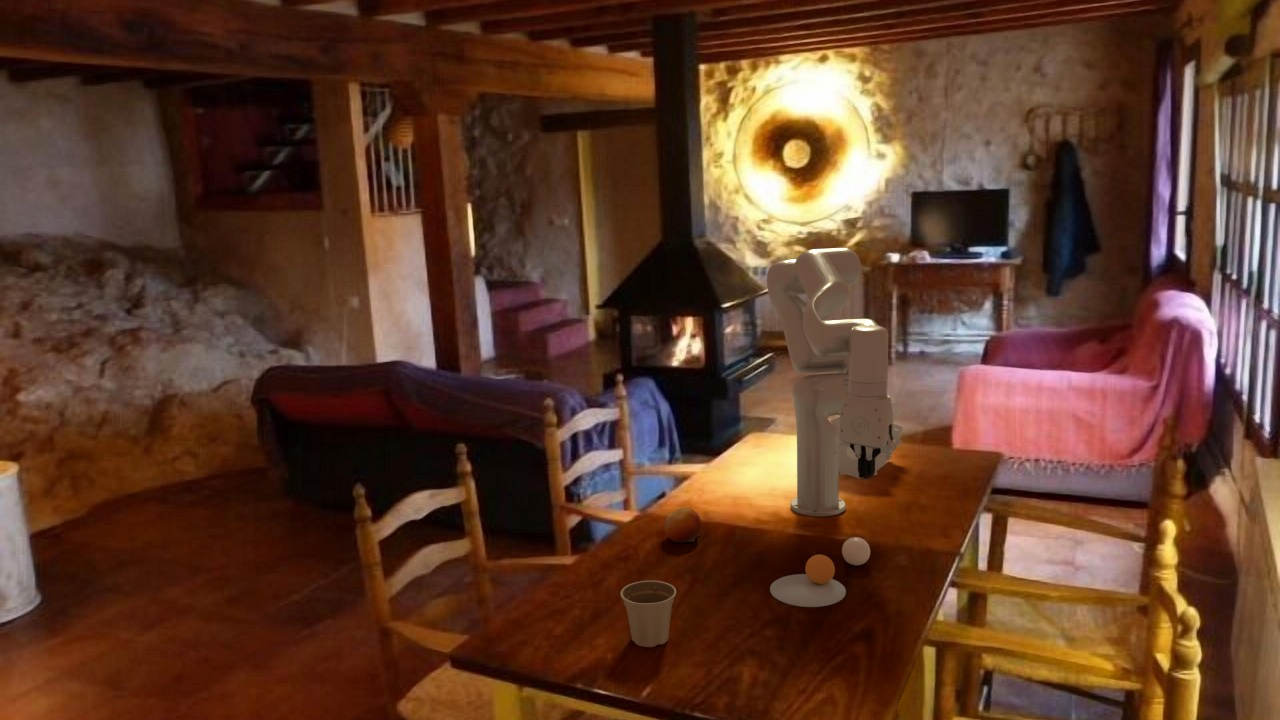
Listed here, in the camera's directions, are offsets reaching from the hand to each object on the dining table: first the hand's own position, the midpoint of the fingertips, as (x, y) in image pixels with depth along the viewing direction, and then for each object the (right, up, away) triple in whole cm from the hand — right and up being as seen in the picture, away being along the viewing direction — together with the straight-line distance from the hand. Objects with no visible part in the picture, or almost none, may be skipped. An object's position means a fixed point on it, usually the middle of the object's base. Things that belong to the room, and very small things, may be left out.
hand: (866, 476), depth 192 cm
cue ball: (-3, -14, -3) cm, 15 cm away
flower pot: (-44, -24, -29) cm, 58 cm away
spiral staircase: (+13, -5, +59) cm, 60 cm away
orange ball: (-11, -16, -11) cm, 23 cm away
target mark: (-14, -20, -13) cm, 28 cm away
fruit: (-36, -16, +14) cm, 42 cm away
